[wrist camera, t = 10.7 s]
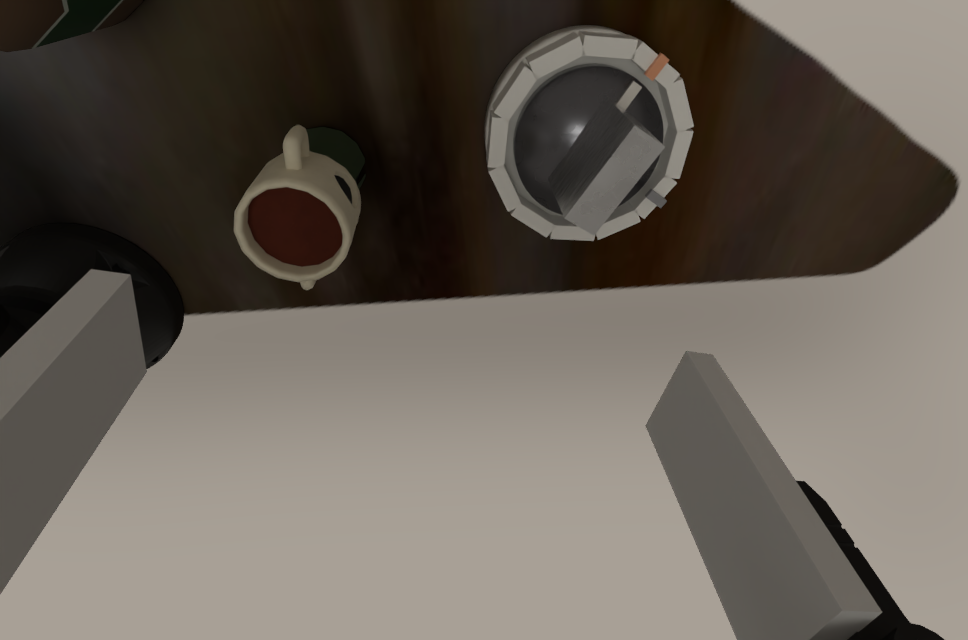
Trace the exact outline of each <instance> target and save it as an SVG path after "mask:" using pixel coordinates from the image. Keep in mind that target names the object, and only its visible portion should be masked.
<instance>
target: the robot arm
mask: <svg viewBox="0 0 968 640" xmlns="http://www.w3.org/2000/svg"><path fill="white" fill-rule="evenodd" d="M183 321H184V311H183V305H182V301H181V298H180V295H179V293H178V290H177V288H176V286H175V285H174V283H173V281H172V280H171V279H170V277H169V276H168V274H167V273H166V272H165V271H164V270H163V268H162V267H161V266H160V265H159V264H158V263H157V262H156V261H155V260H153V259H152V258H151V257H150V256H149V255H148V254H146V253H145V252H144V251H142V250H141V249H139V248H138V247H136V246H135V245H133V244H132V243H130V242H128V241H126V240H124V239H122V238H120V237H118V236H116V235H114V234H111V233H109V232H106V231H103V230H100V229H97V228H93V227H89V226H84V225H79V224H69V223H54V224H45V225H40V226H37V227H33V228H31V229H28V230H26V231H24V232H22V233H21V234H19V235H18V236H16V237H15V238H14V239H12V240H11V241H9V242H8V243H7V244H5V245H4V246H3V247H1V248H0V594H1V593H2V591H3V589H4V588H5V586H6V585H7V583H8V582H9V580H10V579H11V577H12V576H13V574H14V573H15V571H16V570H17V568H18V567H19V565H20V564H21V562H22V561H23V559H24V557H25V556H26V555H27V553H28V551H29V550H30V548H31V547H32V545H33V544H34V542H35V541H36V539H37V538H38V536H39V535H40V533H41V532H42V530H43V529H44V527H45V526H46V524H47V523H48V521H49V520H50V518H51V517H52V515H53V513H54V512H55V510H56V509H57V507H58V506H59V504H60V503H61V501H62V500H63V498H64V497H65V495H66V494H67V492H68V491H69V489H70V488H71V486H72V485H73V483H74V482H75V480H76V478H77V477H78V475H79V474H80V472H81V471H82V469H83V468H84V466H85V465H86V463H87V462H88V460H89V459H90V457H91V456H92V454H93V453H94V451H95V450H96V448H97V447H98V445H99V444H100V442H101V440H102V439H103V437H104V436H105V434H106V433H107V431H108V430H109V428H110V426H111V425H112V424H113V422H114V421H115V419H116V418H117V416H118V415H119V413H120V411H121V410H122V408H123V407H124V406H125V404H126V402H127V401H128V399H129V398H130V396H131V395H132V393H133V392H134V390H135V388H136V387H137V386H138V384H139V383H140V381H141V380H142V378H143V377H144V375H145V374H146V372H147V370H146V369H148V368H150V367H151V366H153V365H154V364H156V363H157V362H158V361H160V360H161V359H162V358H163V357H164V356H165V355H166V354H167V353H168V351H169V350H170V348H171V347H172V345H173V344H174V342H175V341H176V339H177V338H178V336H179V334H180V332H181V329H182V326H183ZM646 428H647V430H648V432H649V435H650V437H651V439H652V442H653V444H654V446H655V449H656V451H657V453H658V456H659V458H660V460H661V463H662V465H663V467H664V470H665V472H666V475H667V477H668V479H669V482H670V484H671V486H672V489H673V491H674V493H675V496H676V498H677V500H678V503H679V505H680V507H681V509H682V512H683V514H684V517H685V519H686V521H687V524H688V526H689V528H690V531H691V533H692V535H693V537H694V540H695V542H696V545H697V547H698V549H699V552H700V554H701V556H702V559H703V561H704V563H705V566H706V567H707V570H708V572H709V575H710V577H711V580H712V582H713V584H714V587H715V589H716V591H717V594H718V596H719V598H720V601H721V603H722V605H723V608H724V610H725V612H726V615H727V617H728V619H729V622H730V624H731V626H732V628H733V631H734V633H735V636H736V638H737V640H944V639H943V638H942V637H940V636H939V635H938V634H936V633H935V632H933V631H931V630H929V629H927V628H925V627H923V626H921V625H916V624H911V623H910V622H909V621H908V619H907V618H906V617H905V616H904V614H903V613H902V611H901V610H900V609H899V607H898V606H897V604H896V603H895V601H894V600H893V599H892V597H891V595H890V594H889V592H888V591H887V590H886V588H885V587H884V585H883V584H882V582H881V581H880V579H879V578H878V577H877V575H876V574H875V572H874V571H873V569H872V568H871V567H870V565H869V563H868V562H867V560H866V559H865V558H864V556H863V555H862V553H861V552H860V550H859V549H858V548H855V547H854V542H853V540H852V539H851V537H850V536H849V534H848V533H847V532H846V530H845V529H842V527H841V525H842V524H841V523H840V521H839V520H838V518H837V517H836V515H835V514H834V513H833V511H832V510H831V508H830V507H829V505H828V504H827V502H826V501H825V500H824V499H823V498H821V497H820V496H819V495H818V494H817V493H816V492H815V491H814V490H813V489H812V488H811V487H810V486H809V485H808V484H807V483H806V482H804V481H796V480H795V479H794V477H793V476H792V474H791V473H790V471H789V470H788V468H787V467H786V465H785V464H784V462H783V461H782V459H781V458H780V456H779V455H778V453H777V452H776V450H775V448H774V447H773V445H772V444H771V443H770V441H769V440H768V438H767V436H766V435H765V433H764V432H763V430H762V429H761V427H760V426H759V424H758V423H757V421H756V420H755V418H754V417H753V415H752V414H751V412H750V411H749V409H748V408H747V406H746V404H745V403H744V401H743V400H742V398H741V397H740V395H739V394H738V392H737V391H736V389H735V388H734V386H733V385H732V383H731V382H730V380H729V379H728V377H727V376H726V374H725V373H724V371H723V370H722V368H721V367H720V365H719V364H718V362H717V361H716V359H715V358H714V356H713V355H711V354H704V353H697V352H689V351H686V352H685V354H684V356H683V357H682V359H681V361H680V363H679V365H678V367H677V369H676V371H675V372H674V374H673V376H672V378H671V380H670V381H669V383H668V385H667V387H666V389H665V391H664V393H663V394H662V396H661V398H660V400H659V402H658V404H657V405H656V407H655V409H654V411H653V413H652V415H651V417H650V418H649V420H648V422H647V424H646Z"/></svg>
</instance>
